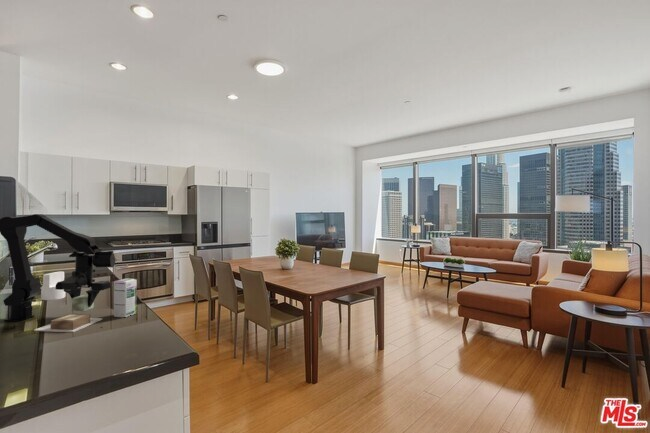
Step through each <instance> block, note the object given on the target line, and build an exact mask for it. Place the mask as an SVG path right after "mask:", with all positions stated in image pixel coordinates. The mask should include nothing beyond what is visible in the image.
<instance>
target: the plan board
mask: <svg viewBox="0 0 650 433" xmlns="http://www.w3.org/2000/svg"><path fill="white" fill-rule="evenodd" d="M102 320H103V317H102V318H98V317H96V318H95V317H91V314H89V313H88V314H84V313H69V314H64V315H62V316H59V317H57V318H54V319H52V320H50V323H49V324H46V325H43V326H41V327H38V328H35V329H34V330H33V332H54V333H55V332H56V333H57V332H58V333H74V332H75V333H76V332H77V331H80V330H81V329H84V328H86V327H88V326H91V325H93V324H95V323H98V322H100V321H102Z"/></svg>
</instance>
